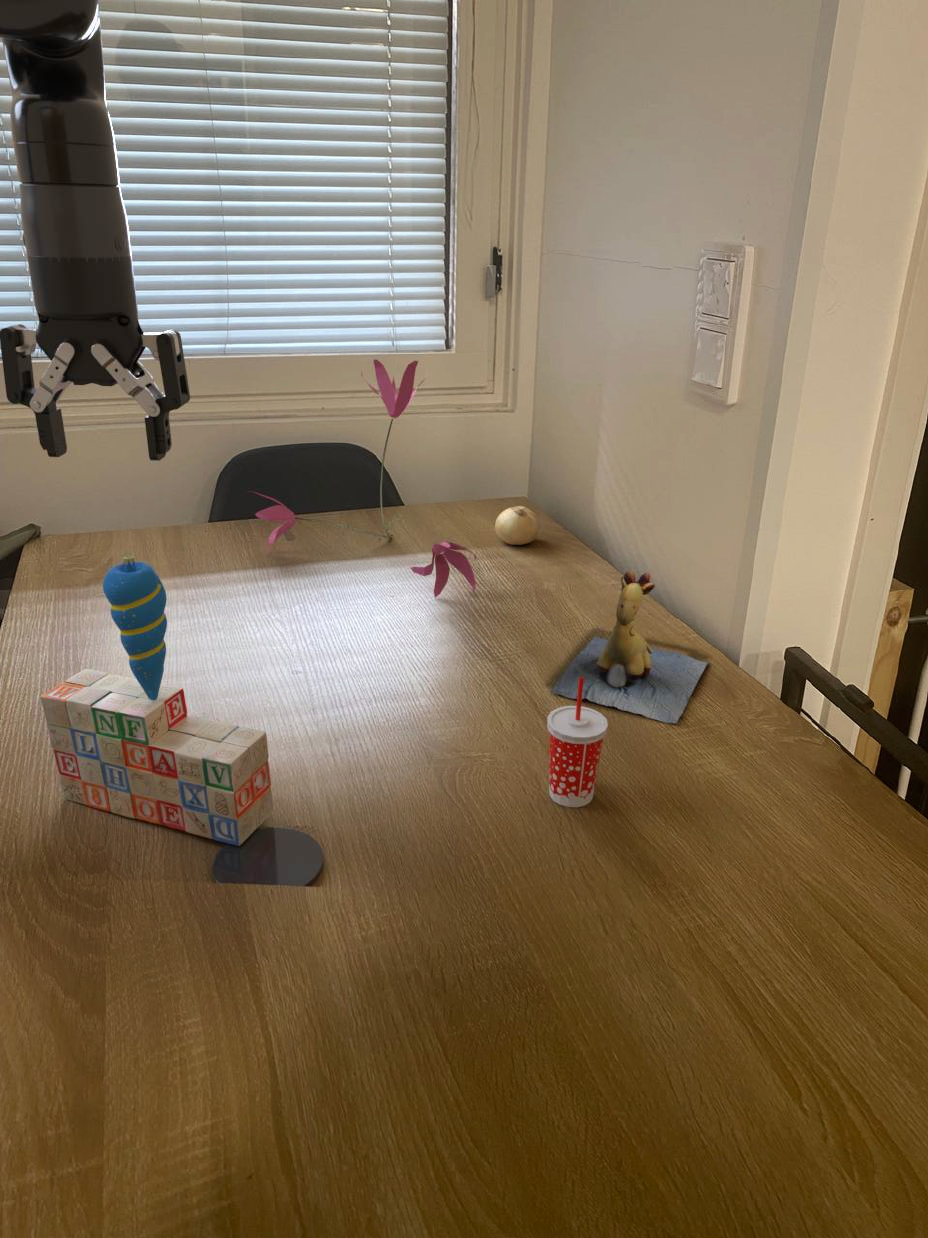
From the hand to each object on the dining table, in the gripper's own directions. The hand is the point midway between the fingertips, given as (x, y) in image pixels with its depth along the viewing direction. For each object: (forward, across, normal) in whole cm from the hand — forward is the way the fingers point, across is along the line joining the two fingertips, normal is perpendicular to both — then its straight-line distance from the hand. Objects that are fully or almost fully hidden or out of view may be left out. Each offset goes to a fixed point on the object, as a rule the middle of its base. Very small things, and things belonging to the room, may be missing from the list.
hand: (107, 456), depth 77 cm
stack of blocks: (+36, -1, 0) cm, 36 cm away
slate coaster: (+36, -13, +8) cm, 39 cm away
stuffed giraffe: (+36, -52, -31) cm, 70 cm away
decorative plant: (+36, -13, -64) cm, 74 cm away
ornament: (+24, -1, 0) cm, 24 cm away
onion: (+36, -38, -81) cm, 96 cm away
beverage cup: (+36, -42, -5) cm, 56 cm away
